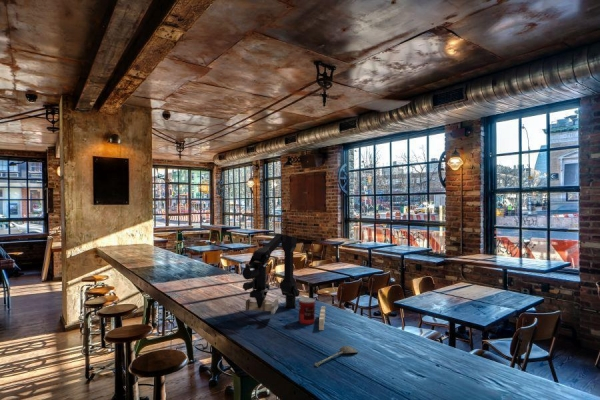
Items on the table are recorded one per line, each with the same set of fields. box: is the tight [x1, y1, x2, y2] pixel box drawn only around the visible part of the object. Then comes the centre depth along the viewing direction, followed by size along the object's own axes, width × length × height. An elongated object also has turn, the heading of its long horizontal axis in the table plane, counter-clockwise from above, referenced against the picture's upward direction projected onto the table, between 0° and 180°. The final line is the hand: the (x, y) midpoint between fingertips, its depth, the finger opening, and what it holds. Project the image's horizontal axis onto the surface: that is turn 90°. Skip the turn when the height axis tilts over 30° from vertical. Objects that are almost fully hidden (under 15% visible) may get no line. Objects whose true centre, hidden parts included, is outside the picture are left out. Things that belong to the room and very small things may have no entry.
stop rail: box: [318, 305, 326, 331], centre depth 172 cm, size 20×2×5 cm, turn 174°
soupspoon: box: [314, 345, 358, 368], centre depth 134 cm, size 22×3×7 cm
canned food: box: [298, 297, 316, 326], centre depth 173 cm, size 8×8×11 cm
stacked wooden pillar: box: [245, 298, 279, 315], centre depth 175 cm, size 15×12×4 cm
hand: (259, 307), depth 176 cm, fingers closed on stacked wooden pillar, 2 cm apart
